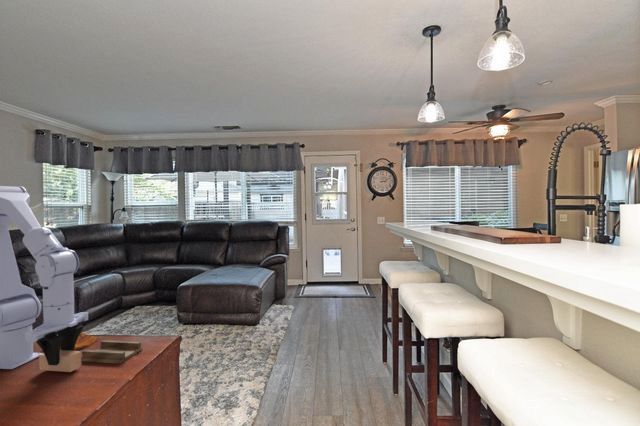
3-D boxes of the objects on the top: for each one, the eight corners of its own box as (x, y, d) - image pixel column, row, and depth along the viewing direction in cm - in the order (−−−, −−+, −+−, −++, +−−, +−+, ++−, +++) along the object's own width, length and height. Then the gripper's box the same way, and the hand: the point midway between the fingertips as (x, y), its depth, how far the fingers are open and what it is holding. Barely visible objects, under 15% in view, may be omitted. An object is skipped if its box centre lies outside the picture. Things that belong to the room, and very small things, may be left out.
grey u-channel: (80, 361, 84) (80, 352, 84) (105, 347, 92) (104, 339, 92) (121, 363, 83) (120, 354, 83) (142, 349, 91) (142, 341, 91)
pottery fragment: (72, 328, 100) (100, 324, 98) (75, 343, 100) (103, 340, 98) (37, 342, 90) (67, 339, 88) (40, 359, 90) (70, 356, 88)
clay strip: (39, 369, 79) (39, 355, 78) (51, 363, 82) (51, 349, 81) (70, 372, 78) (70, 356, 77) (81, 365, 80) (80, 351, 80)
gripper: (44, 313, 71) (46, 377, 72) (98, 295, 86) (99, 348, 86) (15, 312, 72) (17, 375, 73) (73, 294, 87) (75, 347, 87)
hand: (60, 360), depth 79 cm, fingers closed on clay strip, 3 cm apart
